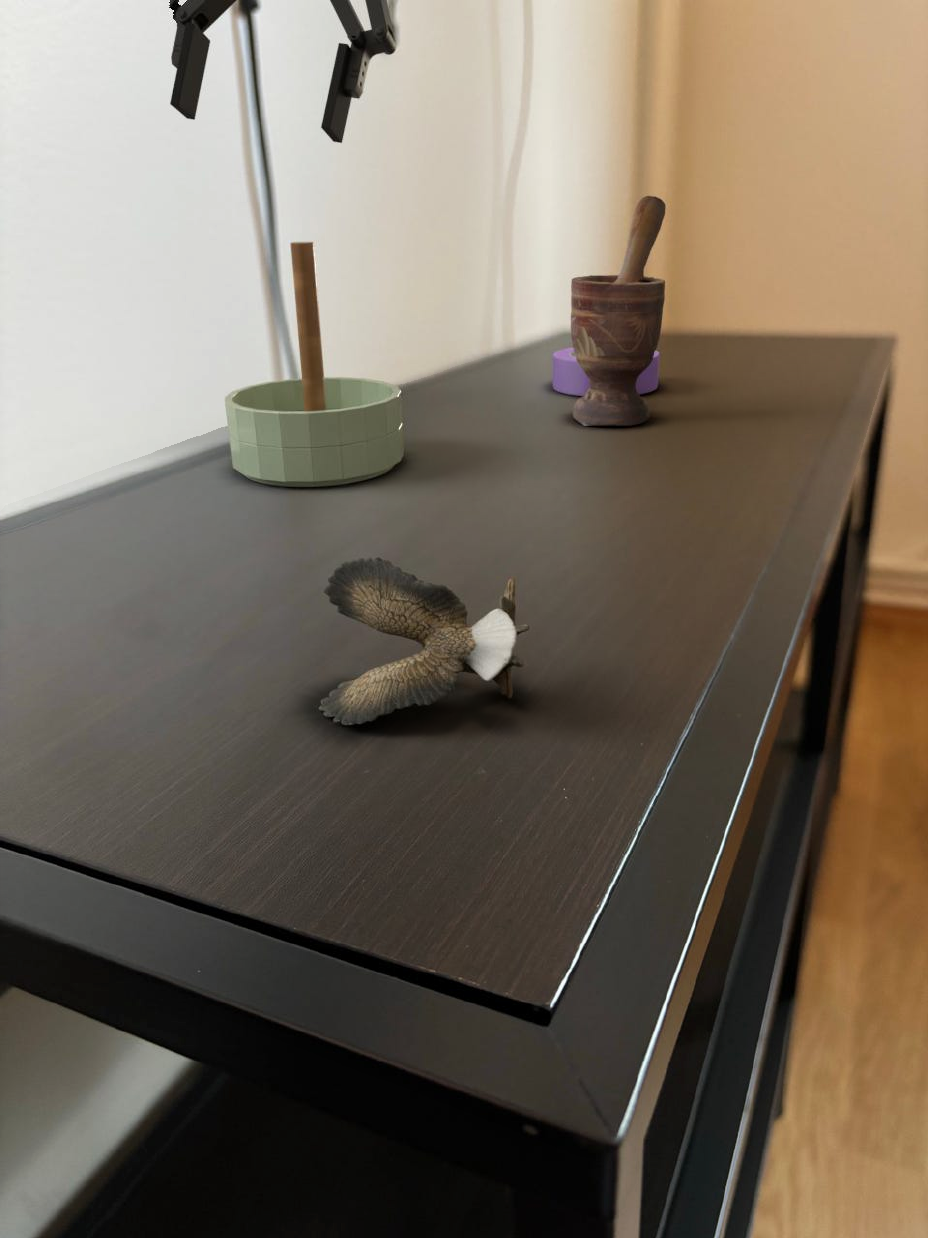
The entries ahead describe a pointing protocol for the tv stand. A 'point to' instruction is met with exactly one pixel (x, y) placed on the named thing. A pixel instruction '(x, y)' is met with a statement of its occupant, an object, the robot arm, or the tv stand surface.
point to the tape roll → (577, 382)
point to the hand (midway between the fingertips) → (255, 123)
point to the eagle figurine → (427, 619)
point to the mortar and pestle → (619, 327)
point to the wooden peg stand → (308, 325)
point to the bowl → (315, 432)
